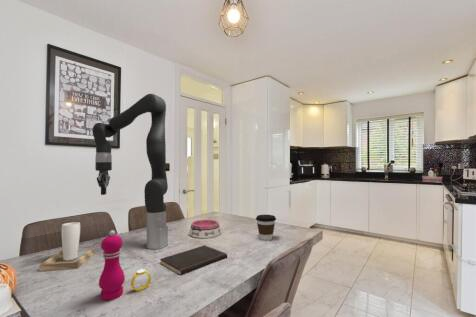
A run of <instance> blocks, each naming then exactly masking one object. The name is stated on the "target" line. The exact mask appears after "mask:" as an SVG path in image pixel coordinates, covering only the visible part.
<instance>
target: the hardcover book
mask: <svg viewBox="0 0 476 317" xmlns="http://www.w3.org/2000/svg"><path fill="white" fill-rule="evenodd" d="M227 258H228V254H227V252H224V251H221V250H218V249H215V248H213V247H210V246H209V245H208V246H207V245H201V246H198V247H194V248H191V249H188V250H184V251H181V252H178V253H175V254H171V255H168V256H165V257H162V258H160V259H159V261H160V264H161V265H163V266H165V267H166V268H167V269H169V270H172V271H173V272H175V273H177V274H179V275H180V276H183V275H186V274H189V273H191V272H194V271H196V270H199V269H201V268H204V267H207V266H210V265H213V264H215V263H217V262H220V261H222V260H225V259H227Z"/></svg>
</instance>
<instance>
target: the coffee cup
mask: <svg viewBox="0 0 476 317" xmlns="http://www.w3.org/2000/svg"><path fill="white" fill-rule="evenodd" d="M255 220H256V224H257V231H258V234H259V239H260V240H261V241H267V242H268V241H271V240H273V237H274V231H275V224H276V223H275V221H276V220H277V217H276V216H275V215H274V214H273V215H272V214H259V215H257V216H256V217H255Z"/></svg>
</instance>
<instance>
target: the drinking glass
mask: <svg viewBox="0 0 476 317" xmlns="http://www.w3.org/2000/svg"><path fill="white" fill-rule="evenodd" d="M60 231H61V247H62V250H63V257H62V259H63V261H64V262H70V261H73V260H74V261H75V260H76V259H78V257H79V246H80V238H81V222H79V221H78V222H77V221H74V222H67V223H66V222H65V223H62V224H61V230H60Z"/></svg>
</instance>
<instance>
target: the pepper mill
mask: <svg viewBox="0 0 476 317" xmlns="http://www.w3.org/2000/svg"><path fill="white" fill-rule="evenodd" d="M123 244H124V243H123V239H122V237H121V236H120V235H118V234H116V230H113V229H111V230H109V232H108V235H107V236H106V237H104V238H103V239H102V241H101V244H100V247H101V250H102V251H103V253H102V254H103V255H102V257H103V259H104V266H103V268H102V269H103V270H102V272H101V274H100V277H99V280H98V287H99V288H100V299H101V300H103V301H111V300H116V299H117V298H120V297H121V296H122V295H123V293H124V286H123V284H124V283H125V281H126V277H125V273H124V271H123V269H122V266H121V263H120V256H121V255H122V253H121V252H122V250H121V248H122V246H123Z"/></svg>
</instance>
